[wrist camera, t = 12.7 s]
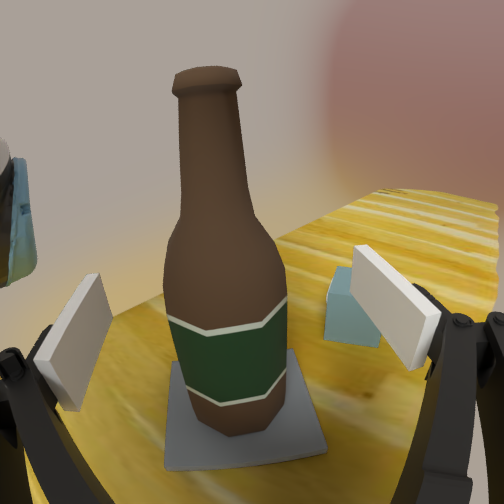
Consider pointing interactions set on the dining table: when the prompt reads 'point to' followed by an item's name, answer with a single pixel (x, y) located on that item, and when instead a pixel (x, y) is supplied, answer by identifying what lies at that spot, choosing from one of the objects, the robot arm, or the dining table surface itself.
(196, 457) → the mat
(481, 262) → the dining table surface
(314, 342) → the dining table surface
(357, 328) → the letter block
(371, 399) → the dining table surface
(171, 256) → the beer bottle
